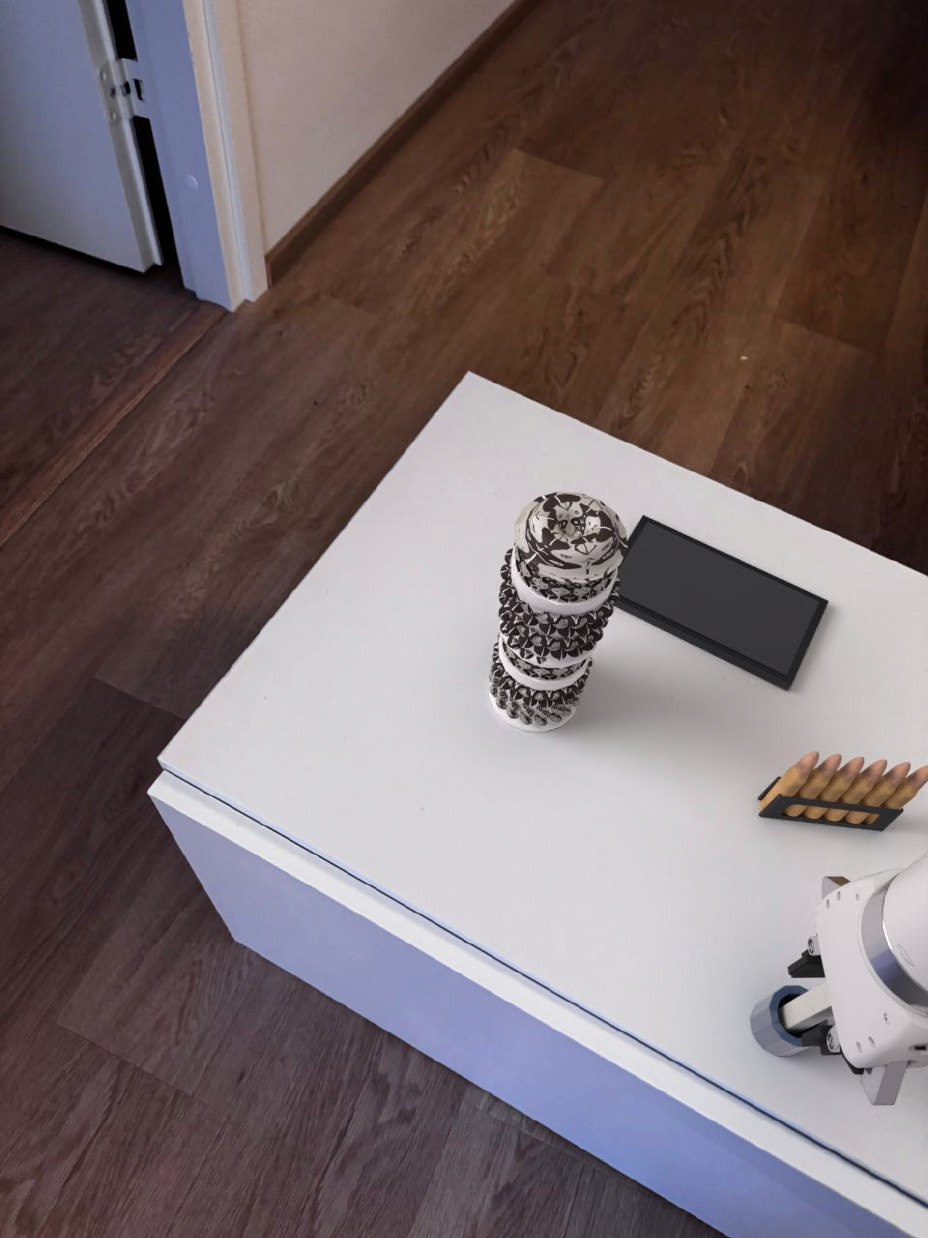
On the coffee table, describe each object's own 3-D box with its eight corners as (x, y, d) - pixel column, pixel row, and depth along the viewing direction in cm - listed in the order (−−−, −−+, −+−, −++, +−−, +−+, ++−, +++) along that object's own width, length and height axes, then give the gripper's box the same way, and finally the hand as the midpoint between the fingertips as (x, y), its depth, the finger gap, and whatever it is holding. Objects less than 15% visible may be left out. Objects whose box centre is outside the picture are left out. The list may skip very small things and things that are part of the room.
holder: (797, 998, 76) (820, 984, 71) (808, 1057, 73) (833, 1046, 69) (744, 999, 75) (764, 985, 71) (754, 1057, 73) (775, 1047, 69)
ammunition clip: (757, 818, 83) (805, 762, 73) (755, 798, 84) (803, 740, 74) (881, 833, 83) (947, 779, 73) (878, 813, 84) (943, 756, 74)
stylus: (786, 1015, 74) (855, 976, 63) (790, 1037, 74) (861, 1002, 62) (765, 1015, 74) (831, 977, 63) (769, 1038, 74) (836, 1003, 62)
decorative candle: (474, 724, 87) (496, 562, 66) (495, 638, 92) (521, 461, 71) (575, 747, 86) (629, 590, 65) (590, 659, 91) (645, 486, 70)
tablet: (825, 606, 96) (829, 600, 95) (787, 691, 90) (791, 685, 89) (640, 520, 100) (643, 513, 99) (594, 596, 95) (596, 589, 94)
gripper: (1060, 1113, 48) (899, 1141, 63) (961, 793, 56) (841, 886, 72) (911, 1116, 47) (786, 1143, 63) (834, 792, 56) (741, 887, 72)
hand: (816, 1005), depth 67 cm, fingers open, 3 cm apart
